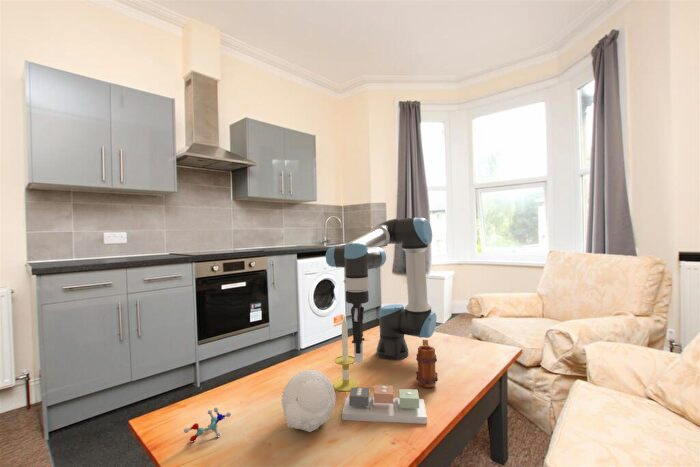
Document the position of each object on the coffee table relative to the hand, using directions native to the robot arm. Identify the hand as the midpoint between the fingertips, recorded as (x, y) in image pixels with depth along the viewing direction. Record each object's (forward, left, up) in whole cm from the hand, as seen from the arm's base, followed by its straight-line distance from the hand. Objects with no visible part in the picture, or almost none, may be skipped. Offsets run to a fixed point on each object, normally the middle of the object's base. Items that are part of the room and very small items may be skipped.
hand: (358, 361), depth 108 cm
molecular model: (+17, -42, -16) cm, 48 cm away
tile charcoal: (0, 0, -13) cm, 13 cm away
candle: (-18, -7, -16) cm, 25 cm away
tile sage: (0, +16, -13) cm, 20 cm away
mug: (-23, +24, -16) cm, 37 cm away
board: (0, +8, -16) cm, 18 cm away
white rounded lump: (+9, -14, -16) cm, 23 cm away
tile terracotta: (0, +8, -12) cm, 14 cm away
